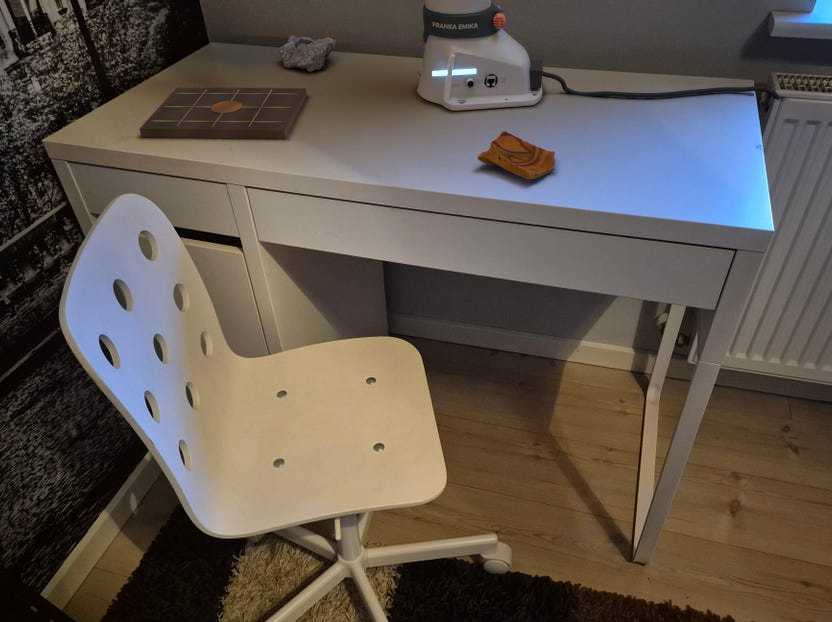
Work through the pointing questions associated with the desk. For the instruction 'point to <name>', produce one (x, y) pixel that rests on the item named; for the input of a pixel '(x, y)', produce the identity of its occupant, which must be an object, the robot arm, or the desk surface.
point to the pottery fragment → (518, 156)
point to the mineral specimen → (306, 52)
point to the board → (226, 113)
